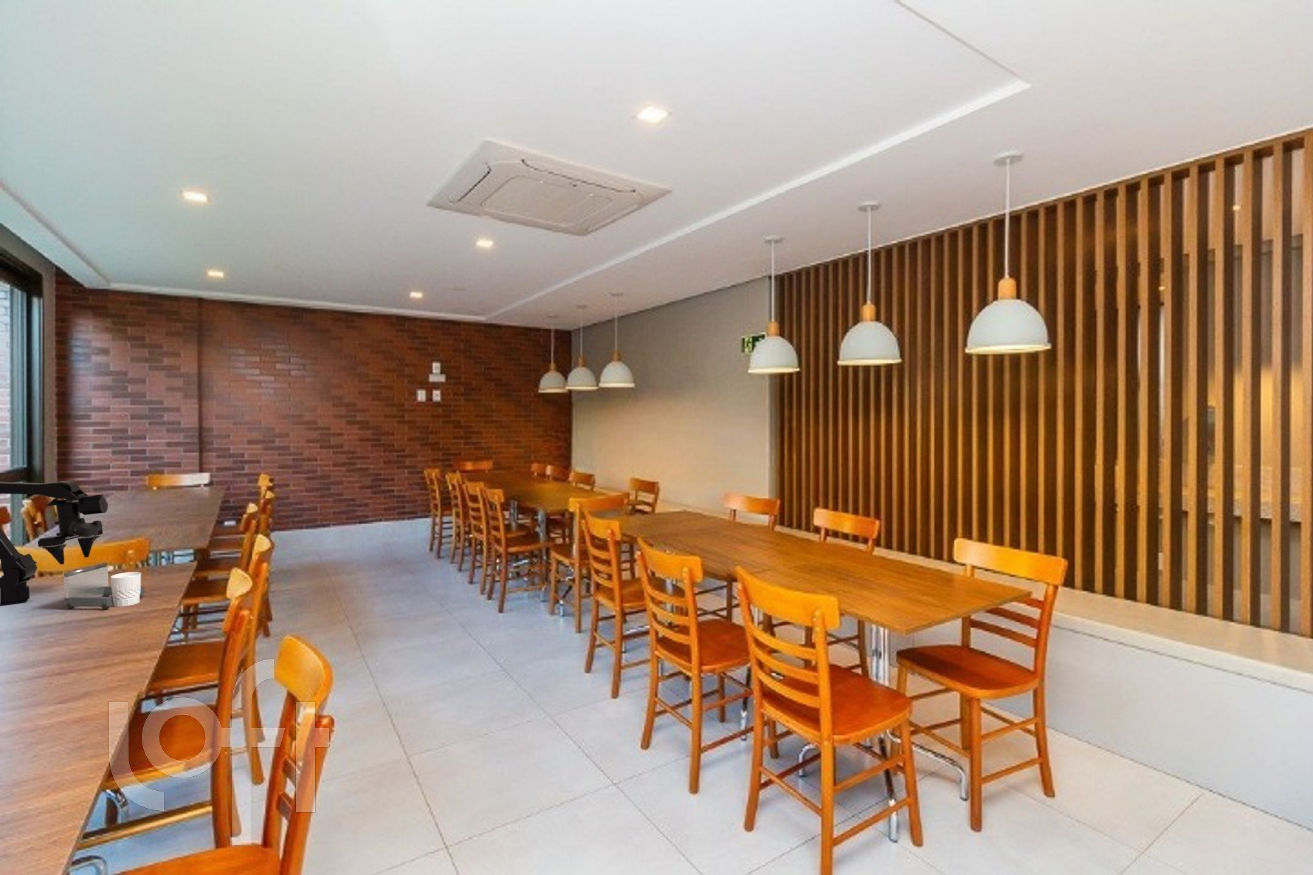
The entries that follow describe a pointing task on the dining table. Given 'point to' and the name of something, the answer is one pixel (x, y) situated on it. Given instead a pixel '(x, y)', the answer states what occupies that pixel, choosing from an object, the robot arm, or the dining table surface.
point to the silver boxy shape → (89, 587)
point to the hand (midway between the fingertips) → (74, 560)
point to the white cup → (126, 588)
